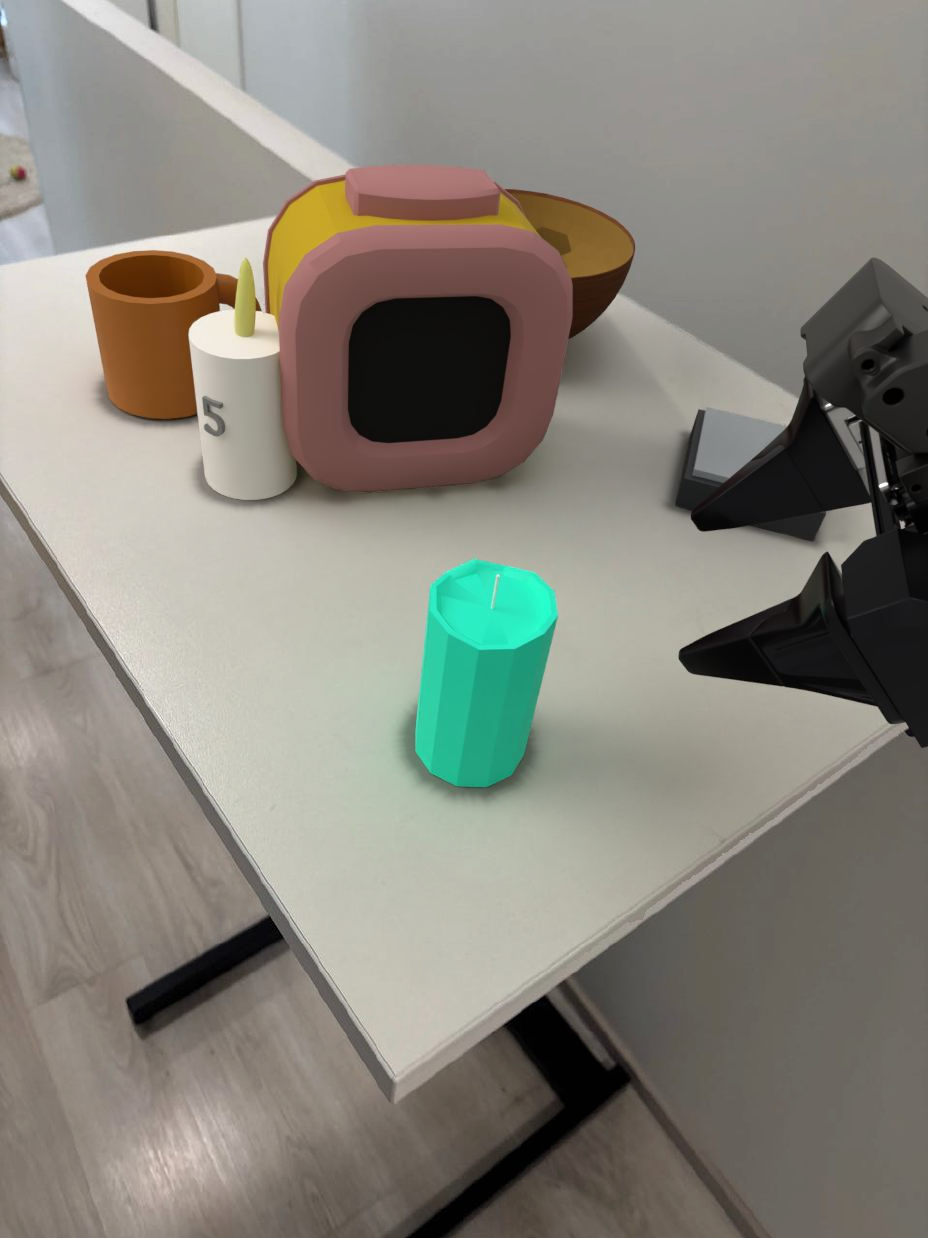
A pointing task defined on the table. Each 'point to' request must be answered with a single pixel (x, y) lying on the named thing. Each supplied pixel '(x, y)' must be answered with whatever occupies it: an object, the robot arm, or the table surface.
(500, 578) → the candle
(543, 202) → the bowl
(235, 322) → the candle
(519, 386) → the alarm clock
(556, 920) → the table surface
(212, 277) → the mug
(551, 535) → the table surface
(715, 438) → the scale
